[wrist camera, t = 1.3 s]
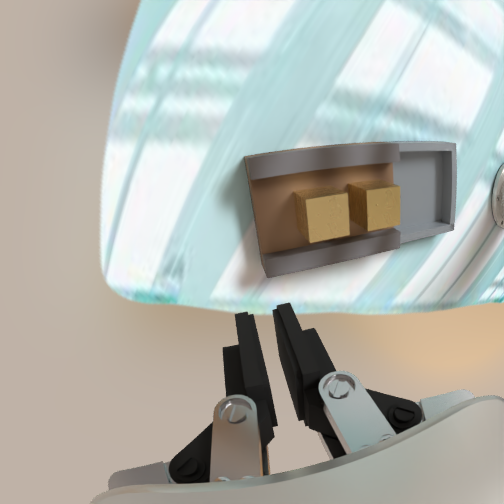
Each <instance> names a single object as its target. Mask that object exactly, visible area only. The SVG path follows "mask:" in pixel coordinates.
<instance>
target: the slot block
mask: <svg viewBox="0 0 504 504" xmlns="http://www.w3.org/2000/svg"><path fill="white" fill-rule="evenodd" d="M244 158H245V164H246V170H247V176H248V182H249V188H250V194H251V200H252V206H253V212H254V218H255V224H256V230H257V237H258V243H259V249H260V255H261V261H262V265H263V268H264V271H265V273H266V276H267V278H270V277H275V276H280V275H285V274H289V273H294V272H299V271H303V270H308V269H312V268H317V267H321V266H326V265H330V264H335V263H339V262H343V261H348V260H352V259H356V258H360V257H365V256H369V255H373V254H377V253H381V252H385V251H390V250H394V249H398V248H400V236H401V232H400V231H398V230H397V229H395V228H394V226H392V227H387V228H382V229H377V230H372V231H366V230H365V229H363V228H362V227H360V226H359V225H357V224H356V223H354V222H353V221H351V220H350V211H349V230H350V235H347V236H342V237H338V238H333V239H328V240H323V241H318V242H313V243H309V242H308V240H307V239H306V238H305V237H304V236H303V235H302V234H301V233H300V231H299V230H298V229H297V220H296V211H295V202H294V194H293V191H298V190H304V189H311V188H317V187H324V186H333V187H335V188H337V189H339V190H342V191H344V192H346V193H348V183H353V182H361V181H370V180H378V179H380V180H383V181H386V182H389V183H392V184H394V181H393V162H400V151H399V143H389V142H368V143H351V144H338V145H326V146H316V147H307V148H298V149H290V150H283V151H275V152H268V153H262V154H255V155H249V156H244ZM348 207H349V193H348Z"/></svg>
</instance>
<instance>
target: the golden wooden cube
mask: <svg viewBox="0 0 504 504" xmlns="http://www.w3.org/2000/svg"><path fill="white" fill-rule="evenodd" d="M293 194H294V202H295V211H296V220H297V229H298V230H299V231H300V233H301V234H302V235H303V236H304V237H305V238H306V239H307V240H308V242H309V243H313V242H318V241H323V240H328V239H333V238H338V237H342V236H347V235H350V230H349V207H348V193H346V192H344V191H342V190H339V189H337V188H335V187H333V186H324V187H317V188H311V189H304V190H298V191H293Z"/></svg>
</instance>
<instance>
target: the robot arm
mask: <svg viewBox="0 0 504 504" xmlns="http://www.w3.org/2000/svg"><path fill="white" fill-rule="evenodd" d="M492 210H493V216H494V219H495V222H496V223H497V225H498V226H500V227H502V228H504V164H503V165H502V166H501V168H500V169H499V171H498V173H497V176H496V179H495V183H494V188H493V196H492ZM273 317H274V324H275V331H276V337H277V344H278V351H279V357H280V361H281V365H282V368H283V371H284V374H285V378H286V381H287V385H288V388H289V391H290V394H291V398H292V401H293V404H294V408H295V410H296V414H297V417H298V420H299V421H300V420H304V423H305V426H309V428H310V429H312V430H315V431H317V432H318V435H319V437H320V439H321V442H322V444H323V446H324V448H325V450H326V452H327V454H328V456H329V458H330V460H329V461H326V462H322V463H319V464H315V465H312V466H308V467H304V468H300V469H296V470H291V471H287V472H282V473H277V474H272V475H270V465H269V453H268V446H267V445H268V443H270V441H271V440H272V439H273V438H274V431H273V427H275V426H278V424H277V419H276V414H275V409H274V404H273V399H272V394H271V389H270V384H269V379H268V375H267V371H266V366H265V362H264V358H263V354H262V350H261V345H260V341H259V337H258V332H257V329H256V324H255V320H254V315H253V314H250V315H248V312H243V313H238V314H235V320H236V327H237V335H238V341H239V345H234V346H229V347H223V361H224V374H225V387H226V398H223V399H222V400H221V401H220V402H218V404H217V405H216V407H215V409H214V415H213V422H212V423H211V424H210V425H209V426H208V427H207V428H206V429H205V430H204V431H203V432H201V434H199V435H198V436H197V437H196V438H195V439H194V440H193V441H192V442H191V443H190V444H188V445H187V446H186V447H185V448H184V449H183V450H181V451H180V452H179V453H178V454H177V455H176V456H175V457H174V458H173V459H172V460H171V461H170V462H167V463H163V462H158V463H154V464H150V465H146V466H141V467H137V468H132V469H127V470H122V471H118V472H115V473H114V474H113V475H112V476H111V477H110V479H109V481H108V487H109V490H108V491H106V492H103V493H101V494H99V495H97V496H96V497H95V498H94V499H93V500H92V501H91V503H90V504H504V399H503V398H501V397H499V396H483V397H476V398H475V397H474V395H473V394H472V393H471V392H470V391H468V390H457V391H454V392H450V393H446V394H442V395H438V396H434V397H429V398H425V399H421V400H420V402H417V403H415V402H413V401H410V400H406V399H403V398H398V397H395V396H391V395H387V394H383V393H380V392H376V391H372V390H369V389H365V388H364V387H363V385H362V384H361V383H360V381H359V380H358V379H357V377H356V376H355V375H353V374H351V373H349V372H345V371H336V369H335V368H334V365H333V363H332V361H331V359H330V357H329V356H328V353H327V351H326V349H325V347H324V345H323V343H322V342H321V339H320V337H319V336H318V333H317V332H316V330H315V329H314V328H312V329H308V330H304V331H302V329H301V327H300V324H299V322H298V320H297V318H296V315H295V313H294V311H293V309H292V306H291V304H290V303H286V304H281V305H277V309H274V310H273Z"/></svg>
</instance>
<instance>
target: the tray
mask: <svg viewBox="0 0 504 504" xmlns="http://www.w3.org/2000/svg"><path fill="white" fill-rule="evenodd" d="M389 143H399V151H400V162H393V181H394V184H395V185H398V186H400V225H397V226H394V228H395V229H397V230H398V231H400V232H401V236H400V244H401V243H405V242H409V241H413V240H417V239H421V238H425V237H429V236H433V235H437V234H441V233H445V232H449V231H453V230H454V222H455V209H456V186H457V160H456V143H450V142H439V141H393V142H389Z"/></svg>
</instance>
